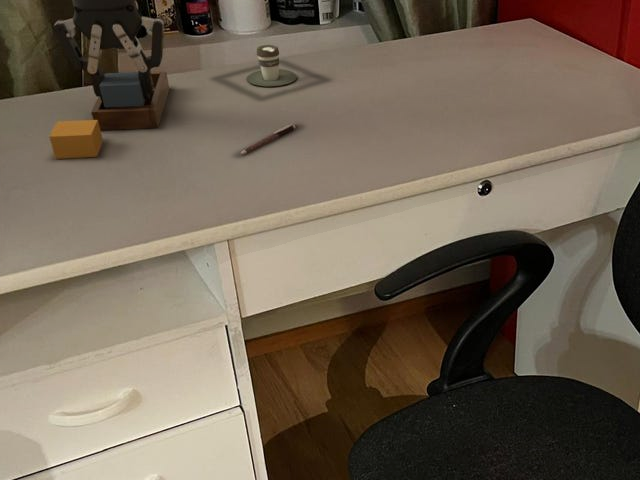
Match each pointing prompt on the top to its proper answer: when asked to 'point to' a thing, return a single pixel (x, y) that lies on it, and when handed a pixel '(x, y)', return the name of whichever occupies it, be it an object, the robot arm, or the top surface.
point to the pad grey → (122, 90)
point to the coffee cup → (270, 69)
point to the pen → (270, 138)
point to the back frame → (135, 109)
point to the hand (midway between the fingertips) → (125, 97)
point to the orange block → (76, 139)
